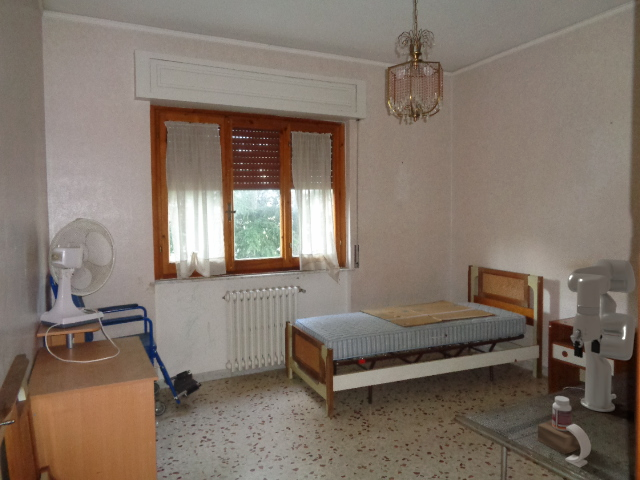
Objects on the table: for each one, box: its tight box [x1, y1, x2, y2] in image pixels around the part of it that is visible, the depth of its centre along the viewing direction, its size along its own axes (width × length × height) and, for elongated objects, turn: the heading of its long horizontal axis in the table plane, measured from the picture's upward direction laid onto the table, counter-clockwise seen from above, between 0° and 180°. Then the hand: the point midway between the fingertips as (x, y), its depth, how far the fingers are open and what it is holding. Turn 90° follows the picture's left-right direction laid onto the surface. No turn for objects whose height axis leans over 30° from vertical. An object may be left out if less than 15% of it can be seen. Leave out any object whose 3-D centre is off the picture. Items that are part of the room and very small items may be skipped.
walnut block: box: [537, 420, 587, 455], centre depth 172 cm, size 11×11×6 cm
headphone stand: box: [564, 423, 592, 468], centre depth 159 cm, size 5×6×12 cm
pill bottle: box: [551, 395, 572, 431], centre depth 171 cm, size 6×6×11 cm
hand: (587, 354), depth 178 cm, fingers open, 9 cm apart
